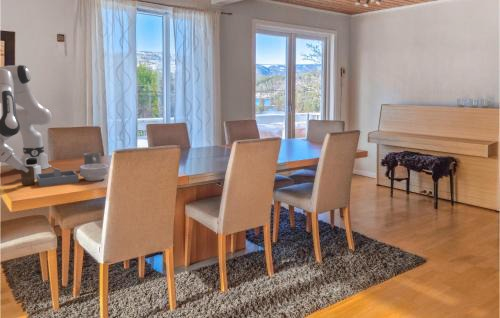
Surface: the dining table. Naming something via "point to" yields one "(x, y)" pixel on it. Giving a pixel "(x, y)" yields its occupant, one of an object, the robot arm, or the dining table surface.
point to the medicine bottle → (33, 163)
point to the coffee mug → (92, 158)
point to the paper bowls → (93, 171)
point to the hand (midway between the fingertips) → (27, 170)
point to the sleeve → (28, 176)
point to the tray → (57, 177)
